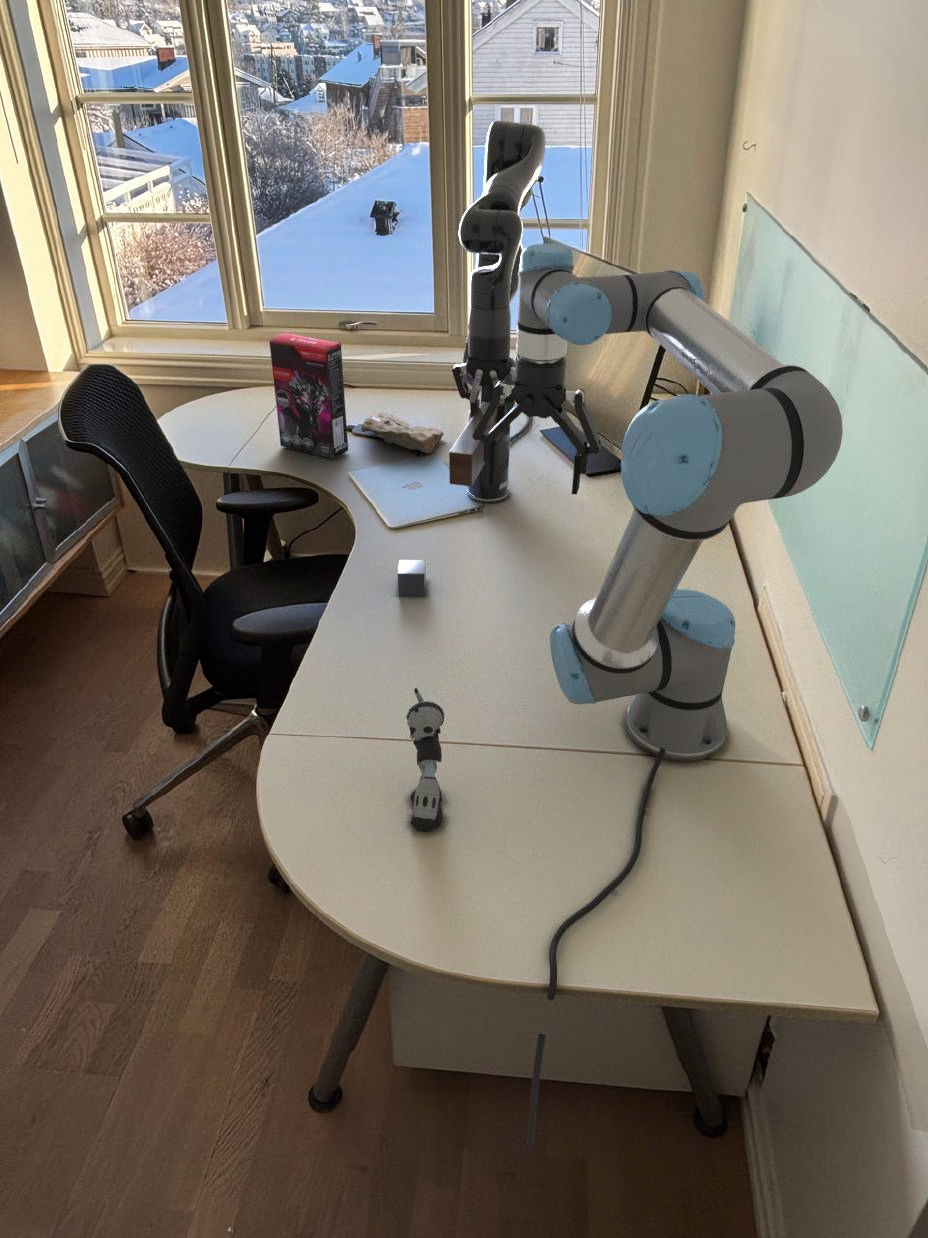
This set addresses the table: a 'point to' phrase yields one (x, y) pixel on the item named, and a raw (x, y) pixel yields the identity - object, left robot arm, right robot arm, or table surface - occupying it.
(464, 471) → the walnut bar
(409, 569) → the slate cube
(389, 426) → the stone
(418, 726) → the robot
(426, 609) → the table surface
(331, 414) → the graphics card box
